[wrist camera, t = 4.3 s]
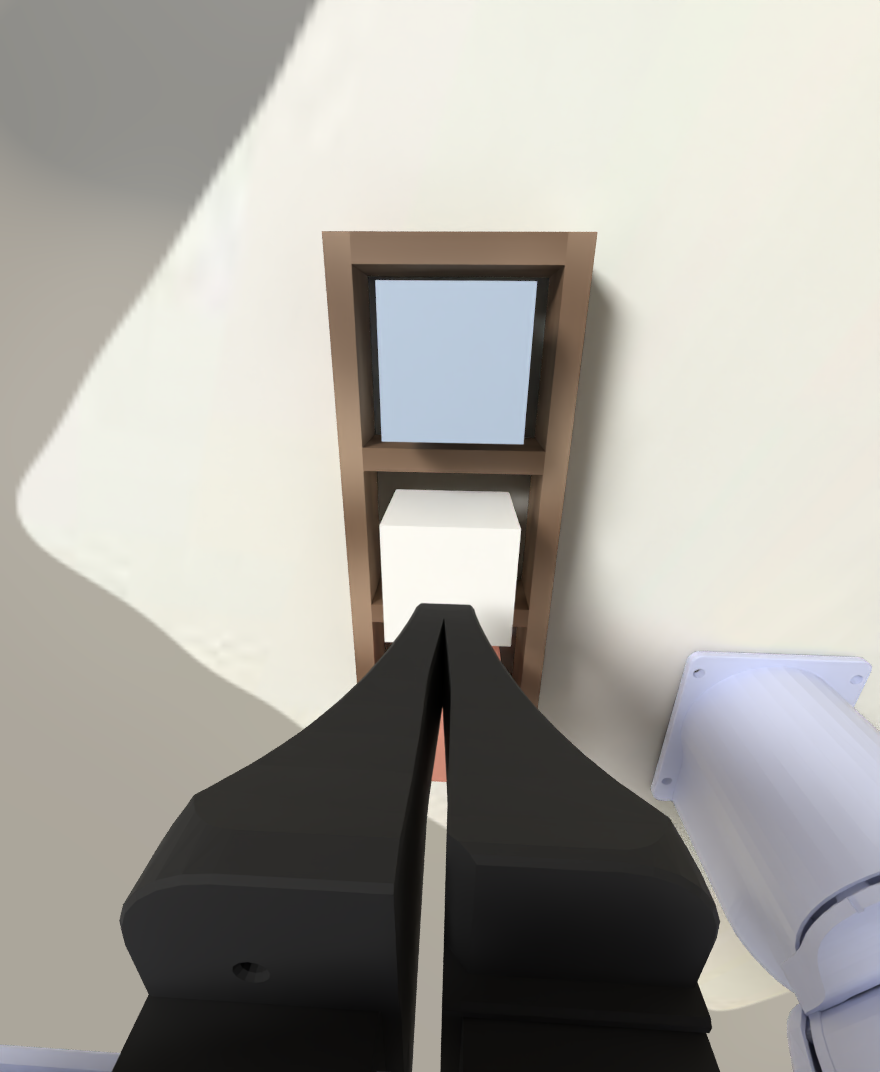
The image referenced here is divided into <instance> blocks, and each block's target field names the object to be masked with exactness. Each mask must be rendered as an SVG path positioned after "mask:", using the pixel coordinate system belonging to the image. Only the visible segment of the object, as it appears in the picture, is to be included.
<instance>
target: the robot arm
mask: <svg viewBox="0 0 880 1072" xmlns="http://www.w3.org/2000/svg"><path fill="white" fill-rule="evenodd" d="M698 669H700V670H699V671H698V672H695V673H694V671H696V670H698ZM871 670H872V666H871V664H870V663H869V662H867V661H866V660H865V659H863V658H861V657H844V656H816V655H789V654H762V653H735V652H708V651H698V652H694V653H692V654H691V655H690V656H689V657H688V658H687V661H686V664H685V668H684V672H683V675H682V679H681V682H680V686H679V689H678V693H677V697H676V700H675V704H674V707H673V711H672V714H671V718H670V722H669V725H668V729H667V732H666V736H665V739H664V743H663V746H662V750H661V754H660V757H659V761H658V764H657V768H656V771H655V775H654V779H653V782H652V786H651V792H652V794H653V796H654V798H655V799H657V800H663V801H673V803H674V806H675V808H676V810H677V812H678V814H679V816H680V818H681V821H682V823H683V825H684V827H685V829H686V831H687V834H688V836H689V838H690V840H691V842H692V844H693V846H694V849H695V851H696V853H697V855H698V857H699V859H700V862H701V864H702V866H703V868H704V870H705V872H706V874H707V877H708V879H709V881H710V883H711V885H712V887H713V890H714V892H715V894H716V896H717V898H718V900H719V903H720V905H721V907H722V909H723V911H724V913H725V915H726V918H727V919H728V921H729V923H730V925H731V927H732V928H733V930H734V932H735V933H736V935H737V936H738V938H739V939H740V941H741V942H742V944H743V945H744V946H745V947H746V949H747V950H748V951H749V952H750V953H751V955H752V956H753V957H754V958H755V959H756V960H757V961H758V962H759V963H760V965H761V966H762V967H763V968H764V969H765V970H766V971H767V972H768V973H769V974H771V975H772V976H773V977H774V978H775V979H776V980H777V981H778V982H780V983H781V984H782V985H783V986H785V987H786V988H787V989H789V990H790V991H792V992H793V993H795V995H796V997H797V999H798V1001H799V1003H800V1004H798V1005H796V1006H795V1007H794V1008H793V1009H792V1010H791V1011H790V1013H789V1016H788V1020H787V1038H788V1044H789V1050H790V1056H791V1061H792V1068H793V1072H880V731H879V730H878V729H877V728H876V727H874V726H873V725H872V724H871V723H870V722H869V721H868V720H867V719H866V718H865V717H864V716H862V715H861V714H860V713H859V712H858V711H857V710H856V709H855V708H854V706H855V704H856V702H857V699H858V697H859V695H860V693H861V691H862V689H863V687H864V685H865V683H866V681H867V679H868V677H869V675H870V673H871ZM442 708H443V727H444V745H445V762H446V780H447V802H448V809H447V842H446V844H447V845H446V881H445V920H444V922H445V923H444V957H443V993H442V994H443V995H442V1031H441V1032H442V1033H441V1072H720V1070H719V1068H718V1065H717V1062H716V1059H715V1056H714V1053H713V1051H712V1048H711V1045H710V1042H709V1040H708V1037H707V1034H706V1033H710V1031H711V1029H712V1025H711V1018H710V1015H709V1012H708V1009H707V1007H706V1004H705V1001H704V999H703V996H702V993H701V991H700V988H699V985H698V983H697V981H698V979H699V977H700V974H701V972H702V970H703V968H704V965H705V963H706V961H707V959H708V957H709V954H710V952H711V950H712V948H713V945H714V943H715V941H716V938H717V934H718V929H719V924H720V920H719V916H718V912H717V909H716V905H715V903H714V900H713V898H712V896H711V894H710V892H709V889H708V887H707V885H706V883H705V881H704V878H703V876H702V874H701V872H700V870H699V868H698V867H697V865H696V863H695V861H694V859H693V858H692V856H691V854H690V852H689V850H688V849H687V847H686V845H685V844H684V842H683V840H682V839H681V837H680V835H679V833H678V832H677V830H676V828H675V827H674V825H673V823H672V822H671V820H670V818H669V817H667V816H666V815H664V814H663V813H662V812H660V811H659V810H657V809H656V808H654V807H653V806H652V805H650V804H649V803H647V802H646V801H645V800H643V799H642V798H640V797H639V796H637V795H636V794H635V793H633V792H632V791H630V790H629V789H628V788H626V787H625V786H623V785H622V784H620V783H619V782H618V781H616V780H615V779H614V778H612V777H611V776H610V775H609V774H607V773H606V772H605V771H604V770H602V769H601V768H600V767H599V766H597V765H596V764H595V763H594V762H593V761H591V760H590V759H589V758H588V757H586V756H585V755H584V754H583V753H582V752H581V751H580V750H579V749H578V748H576V747H575V746H574V745H573V744H572V743H571V742H570V741H569V740H568V739H567V738H566V737H565V736H564V735H562V734H561V733H560V732H559V731H558V730H557V729H556V728H555V727H554V726H553V725H552V724H551V723H550V722H549V721H548V720H547V719H546V717H545V716H544V715H543V714H542V713H541V712H540V711H539V710H538V709H537V708H536V706H535V705H534V704H533V703H532V702H531V701H530V700H529V698H528V697H527V696H526V695H525V693H524V692H523V691H522V690H521V688H520V687H519V686H518V685H517V683H516V682H515V681H514V679H513V678H512V676H511V675H510V674H509V672H508V671H507V669H506V668H505V666H504V665H503V663H502V662H501V660H500V659H499V657H498V656H497V654H496V652H495V651H494V649H493V647H492V646H491V644H490V642H489V641H488V639H487V637H486V635H485V633H484V631H483V629H482V627H481V625H480V623H479V621H478V618H477V616H476V613H475V610H474V608H473V607H472V606H471V605H465V604H434V603H420V604H419V605H418V606H417V607H416V608H415V610H414V612H413V614H412V616H411V617H410V619H409V621H408V622H407V624H406V625H405V627H404V628H403V629H402V631H401V632H400V634H399V635H398V636H397V638H396V639H395V640H394V642H393V643H392V644H391V646H390V647H389V648H388V650H387V651H386V652H385V653H384V655H383V656H382V657H381V658H380V659H379V660H378V661H377V663H376V664H375V665H374V666H373V667H372V668H371V669H370V670H369V672H368V673H367V674H366V675H365V676H364V677H363V678H362V679H361V680H360V681H359V682H358V683H357V684H356V685H355V686H354V687H353V688H352V689H351V690H350V691H349V692H348V693H347V694H346V695H345V696H344V697H342V698H341V699H340V700H339V701H338V702H337V703H336V704H335V705H333V706H332V707H331V708H330V709H329V710H327V711H326V712H325V713H324V714H323V715H321V716H320V717H319V718H318V719H317V720H315V721H314V722H313V723H311V724H310V725H309V726H308V727H306V728H305V729H304V730H302V731H301V732H300V733H298V734H297V735H295V736H294V737H292V738H291V739H289V740H288V741H286V742H285V743H283V744H282V745H280V746H279V747H277V748H276V749H274V750H273V751H271V752H269V753H268V754H266V755H265V756H263V757H262V758H260V759H258V760H257V761H255V762H253V763H252V764H250V765H249V766H246V767H245V768H243V769H241V770H239V771H237V772H236V773H234V774H232V775H230V776H228V777H227V778H225V779H223V780H221V781H219V782H218V783H216V784H214V785H212V786H210V787H209V788H207V789H205V790H203V791H201V792H199V793H197V794H195V795H194V796H193V797H192V799H191V800H190V802H189V803H188V805H187V806H186V807H185V809H184V810H183V811H182V813H181V814H180V815H179V817H178V818H177V819H176V821H175V822H174V823H173V825H172V826H171V828H170V829H169V831H168V832H167V834H166V835H165V837H164V838H163V840H162V841H161V843H160V845H159V846H158V848H157V850H156V851H155V853H154V855H153V856H152V858H151V860H150V861H149V863H148V865H147V866H146V868H145V870H144V871H143V873H142V875H141V876H140V878H139V880H138V881H137V883H136V884H135V886H134V888H133V889H132V891H131V893H130V894H129V896H128V898H127V899H126V901H125V903H124V904H123V908H122V912H121V916H120V925H121V930H122V934H123V938H124V942H125V945H126V947H127V950H128V951H129V954H130V956H131V958H132V960H133V962H134V964H135V966H136V968H137V971H138V972H139V975H140V977H141V979H142V981H143V983H144V985H145V987H146V989H147V991H148V994H149V995H148V997H147V999H146V1001H145V1004H144V1006H143V1008H142V1010H141V1012H140V1014H139V1016H138V1018H137V1020H136V1022H135V1024H134V1027H133V1028H132V1030H131V1032H130V1035H129V1037H128V1039H127V1041H126V1043H125V1045H124V1047H123V1049H122V1051H121V1053H113V1052H99V1051H98V1052H97V1051H84V1050H69V1049H56V1048H42V1047H28V1046H14V1045H0V1072H412V1061H413V1043H414V1026H415V1008H416V1007H415V1006H416V990H417V973H418V955H419V939H420V920H421V905H422V888H423V872H424V855H425V840H426V823H427V812H428V803H429V794H430V788H431V781H432V774H433V768H434V761H435V755H436V748H437V741H438V735H439V728H440V721H441V715H442Z"/></svg>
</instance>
